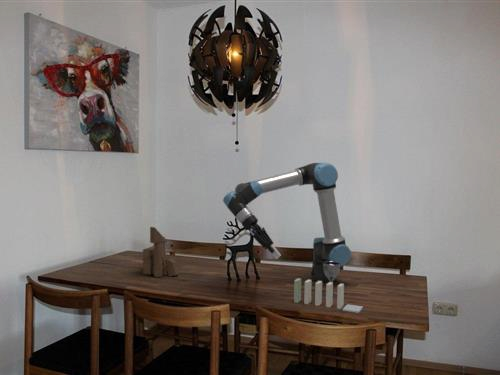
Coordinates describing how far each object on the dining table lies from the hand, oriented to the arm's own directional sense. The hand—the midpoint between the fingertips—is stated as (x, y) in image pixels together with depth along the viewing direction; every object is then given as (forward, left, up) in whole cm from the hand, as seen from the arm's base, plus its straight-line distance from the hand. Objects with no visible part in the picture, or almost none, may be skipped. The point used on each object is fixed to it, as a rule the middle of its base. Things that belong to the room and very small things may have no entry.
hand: (278, 257), depth 213 cm
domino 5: (0, +29, -19) cm, 35 cm away
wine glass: (-20, +19, -20) cm, 34 cm away
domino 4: (0, +24, -19) cm, 31 cm away
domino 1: (0, +9, -19) cm, 22 cm away
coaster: (0, +35, -19) cm, 40 cm away
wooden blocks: (-15, -77, -20) cm, 80 cm away
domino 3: (0, +19, -19) cm, 28 cm away
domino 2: (0, +14, -19) cm, 24 cm away
